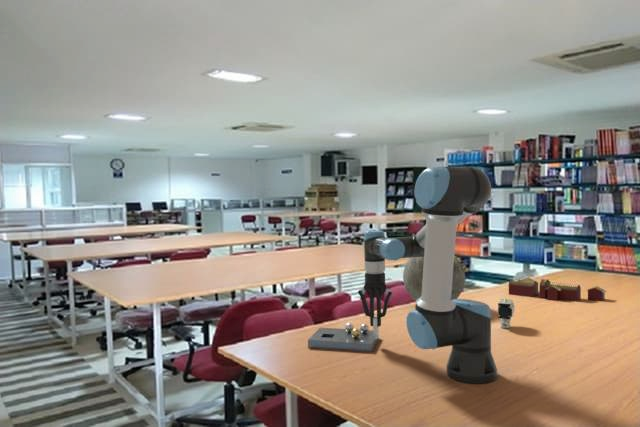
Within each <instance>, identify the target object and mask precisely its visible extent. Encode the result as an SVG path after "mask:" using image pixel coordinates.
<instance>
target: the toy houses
mask: <svg viewBox="0 0 640 427" xmlns="http://www.w3.org/2000/svg"><path fill="white" fill-rule="evenodd" d="M581 289H582V287H581V285H580V284H577V285H573V284H569V283H565V284H564V283H563V282H562V283H561V282H559V283H556V282H551V281H550V280H549V279H546V278H541V280H540V282H538V281H536V280H534V279H532V278H530V277H525V278H523V279H520V278H510V279H509V282H508V295H509V296H510V295H511V296H519V297H529V298H535V297H537V296H539V299H542V300H546V299H547V301H554V302H558V301H566V300H567V302H575V301H576V302H577V301H578V302H579V301H580V300H581V299H582V298H581V295H582V294H581V292H582V290H581ZM585 292H587V301H595V302H603V301H605V298H606V296H605V295H606V293H607V290H606V289H604V288H602V287H600V286H594V287H591V288H587V290H585ZM578 302H577V303H578Z"/></svg>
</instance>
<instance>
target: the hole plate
mask: <svg viewBox="0 0 640 427" xmlns="http://www.w3.org/2000/svg"><path fill="white" fill-rule="evenodd" d="M359 330H360V329H359ZM351 332H352V331H351ZM351 332H348V331H346V329H345V328H334V327H332V328H331V327H319V328H318V329H317V330H316V331H315V332H314V333H313V334H312V335H311V336H310V337H309V338H308V339H307V348H308V349H320V350H321V349H322V350H333V351H334V350H336V351H350V352H353V351H354V352H365V353H366V352H367V353H372V352H373V350H374V348H375V346H376V345H377V343H378V341H379V337H380V336H379V335H380V334H379V333H380V332H379V330H378V336H373V329H372V330H370V329H369V330H368V332H366V333H363V332H361V330H360V336H359V337H357V338H355V337H353V336H352V334H351Z"/></svg>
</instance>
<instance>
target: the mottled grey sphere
mask: <svg viewBox="0 0 640 427" xmlns="http://www.w3.org/2000/svg"><path fill="white" fill-rule="evenodd" d="M423 265H424V257H412V258H409V259H408V260H407V261H406V263H405V265H404V269H403V273H402V278H403V279H402V280H403V284H404V288H405V290H406V292H407V294H408V295H409V296H410V298H412V300H413V301H415V302H416V300H417V299H419V298H420V297H421V294H422V280H423ZM465 282H466V274H465V269H464V267H463V264H462V262H461V261H460V259H459V258H458V257H457V256H456V255H455V254H454V266H453V278H452V291H451V300H453V299H459V297H460V295H461V294H462V292H463V290H464V287H465V284H466V283H465Z"/></svg>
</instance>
